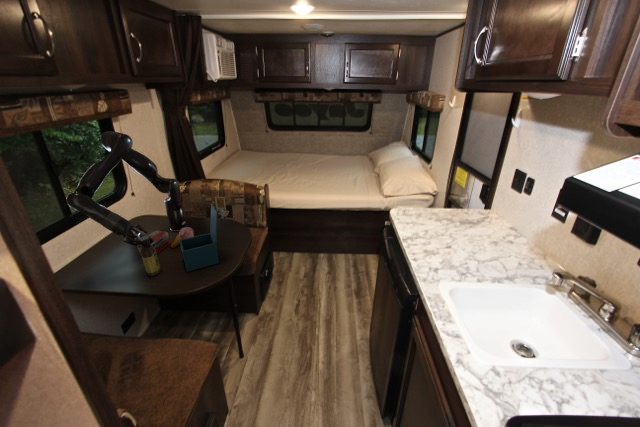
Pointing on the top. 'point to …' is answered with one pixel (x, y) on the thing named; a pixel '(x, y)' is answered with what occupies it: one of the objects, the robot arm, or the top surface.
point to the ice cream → (183, 235)
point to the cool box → (199, 251)
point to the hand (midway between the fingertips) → (150, 244)
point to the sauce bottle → (150, 258)
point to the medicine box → (158, 241)
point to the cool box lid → (215, 221)
